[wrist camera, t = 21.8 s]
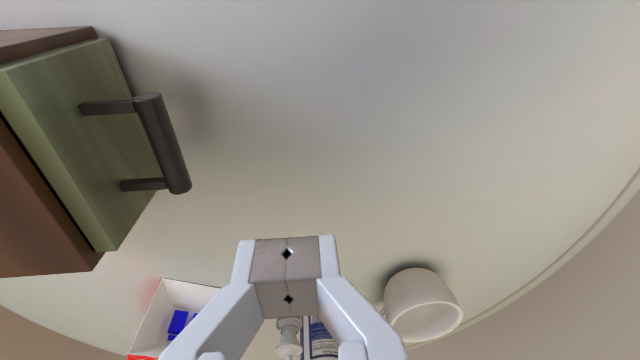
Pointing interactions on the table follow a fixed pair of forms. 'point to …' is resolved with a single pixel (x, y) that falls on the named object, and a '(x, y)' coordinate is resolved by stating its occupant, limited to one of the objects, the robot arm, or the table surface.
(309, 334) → the pill bottle
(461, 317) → the teacup
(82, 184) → the drawer
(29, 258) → the cabinet
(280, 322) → the chess piece
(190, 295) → the red patterned box
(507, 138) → the table surface
